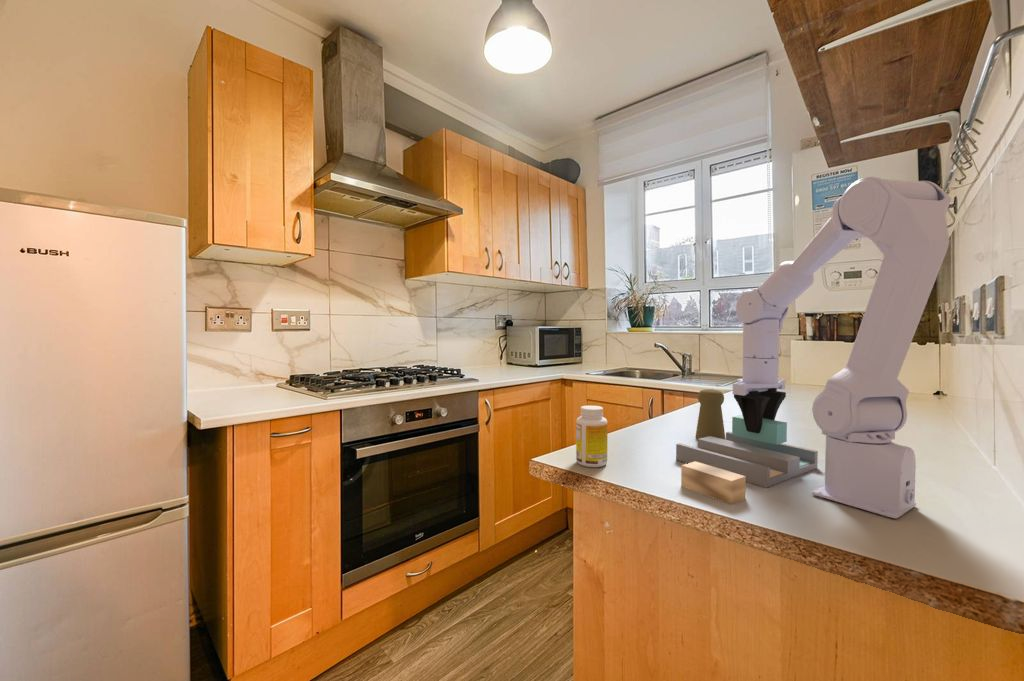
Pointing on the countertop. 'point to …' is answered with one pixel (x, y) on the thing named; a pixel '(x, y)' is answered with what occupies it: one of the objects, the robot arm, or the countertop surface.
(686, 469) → the oak stick
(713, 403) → the cork
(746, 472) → the rack
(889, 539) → the countertop surface
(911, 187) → the robot arm
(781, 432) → the teal stick
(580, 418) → the supplement bottle
